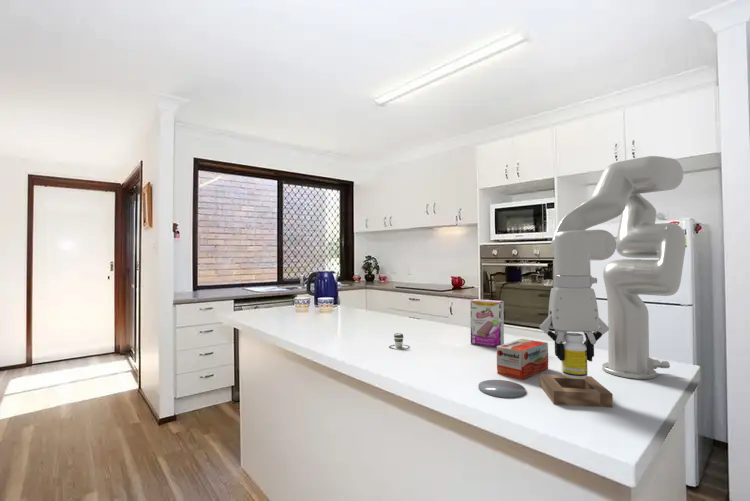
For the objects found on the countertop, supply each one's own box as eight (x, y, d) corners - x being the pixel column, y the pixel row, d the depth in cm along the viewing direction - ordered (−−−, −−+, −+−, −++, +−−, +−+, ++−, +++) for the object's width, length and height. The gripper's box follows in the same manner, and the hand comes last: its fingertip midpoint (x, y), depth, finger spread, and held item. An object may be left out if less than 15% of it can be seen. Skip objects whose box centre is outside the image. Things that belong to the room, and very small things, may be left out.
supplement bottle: (591, 380, 87) (590, 337, 87) (565, 379, 88) (564, 336, 88) (583, 372, 92) (582, 332, 92) (559, 371, 93) (558, 331, 93)
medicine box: (522, 363, 117) (522, 337, 117) (549, 369, 111) (548, 342, 111) (495, 374, 107) (495, 345, 107) (523, 381, 101) (523, 351, 101)
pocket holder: (591, 388, 95) (591, 376, 95) (612, 407, 83) (612, 393, 83) (540, 386, 97) (539, 374, 97) (553, 404, 85) (553, 390, 85)
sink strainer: (420, 346, 141) (420, 332, 141) (405, 353, 131) (405, 338, 131) (392, 342, 147) (392, 329, 147) (375, 348, 137) (375, 335, 137)
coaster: (520, 383, 99) (520, 380, 99) (529, 399, 88) (529, 396, 88) (476, 381, 101) (476, 378, 101) (480, 396, 90) (480, 393, 90)
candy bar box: (470, 344, 141) (469, 300, 141) (474, 341, 146) (473, 298, 146) (501, 348, 135) (500, 302, 136) (504, 345, 140) (504, 300, 140)
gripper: (605, 281, 92) (606, 356, 92) (530, 281, 95) (532, 354, 95) (619, 284, 85) (621, 365, 85) (538, 284, 88) (539, 363, 88)
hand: (574, 358), depth 90 cm, fingers closed on supplement bottle, 5 cm apart
